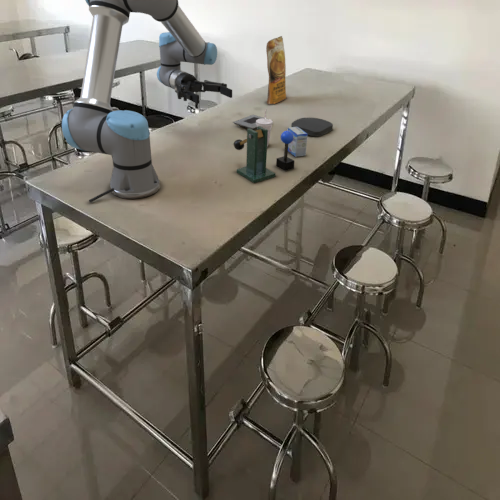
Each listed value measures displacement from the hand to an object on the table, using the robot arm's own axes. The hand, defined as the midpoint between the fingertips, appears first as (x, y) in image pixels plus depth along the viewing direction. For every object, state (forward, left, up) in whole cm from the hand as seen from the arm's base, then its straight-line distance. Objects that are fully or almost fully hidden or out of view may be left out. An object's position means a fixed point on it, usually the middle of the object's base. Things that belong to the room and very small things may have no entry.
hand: (215, 96), depth 167 cm
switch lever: (+1, -18, -12) cm, 22 cm away
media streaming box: (+47, -1, -21) cm, 52 cm away
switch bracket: (+1, -23, -21) cm, 31 cm away
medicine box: (+25, -16, -21) cm, 36 cm away
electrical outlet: (+29, +16, -21) cm, 40 cm away
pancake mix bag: (+60, +39, -21) cm, 75 cm away
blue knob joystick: (+13, -24, -21) cm, 34 cm away
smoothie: (+19, -4, -21) cm, 29 cm away
